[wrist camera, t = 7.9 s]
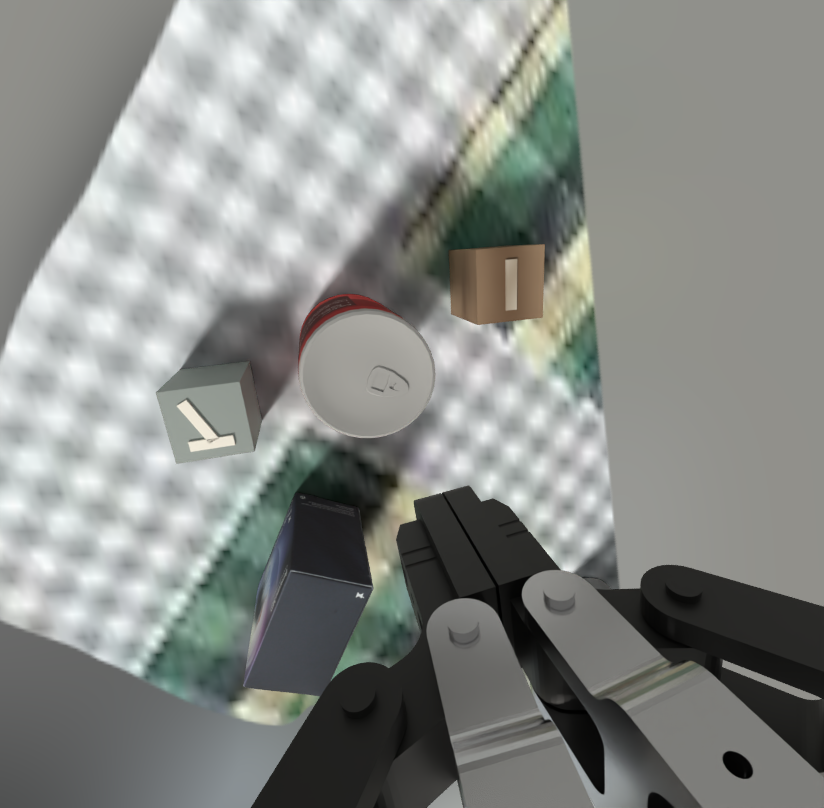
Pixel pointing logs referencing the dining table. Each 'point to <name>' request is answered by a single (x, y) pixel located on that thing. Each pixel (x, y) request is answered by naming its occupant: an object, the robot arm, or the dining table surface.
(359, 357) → the canned food
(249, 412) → the slate digit block
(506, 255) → the walnut digit block
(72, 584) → the dining table surface
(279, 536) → the small box
